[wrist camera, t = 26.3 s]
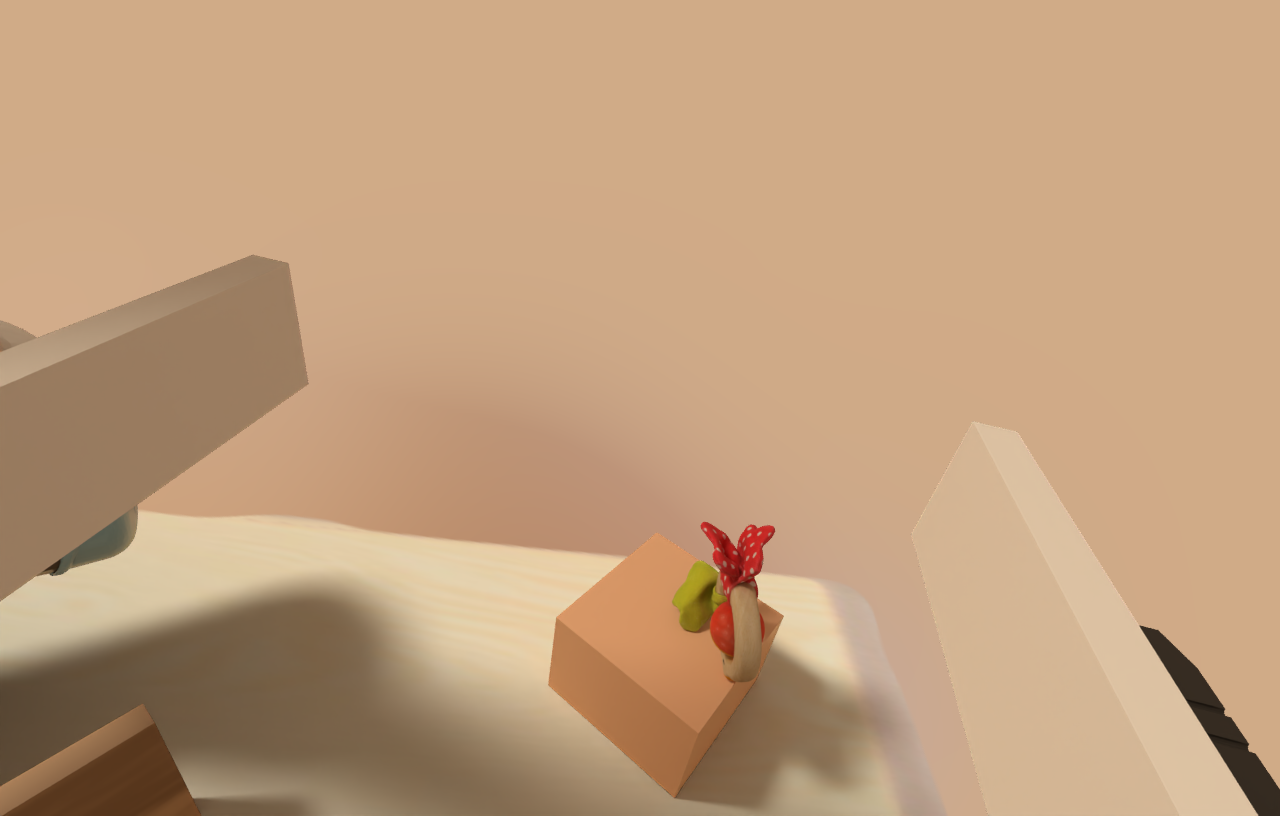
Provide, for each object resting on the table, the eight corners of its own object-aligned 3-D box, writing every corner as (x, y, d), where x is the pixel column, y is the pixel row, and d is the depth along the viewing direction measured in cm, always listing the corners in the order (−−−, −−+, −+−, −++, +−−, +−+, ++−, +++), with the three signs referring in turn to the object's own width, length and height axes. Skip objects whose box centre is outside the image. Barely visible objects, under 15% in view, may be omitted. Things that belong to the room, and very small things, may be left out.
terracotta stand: (548, 685, 46) (556, 617, 42) (642, 596, 55) (656, 532, 50) (674, 798, 41) (698, 733, 36) (756, 679, 49) (783, 615, 45)
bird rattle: (767, 689, 42) (742, 563, 47) (843, 657, 33) (802, 504, 38) (682, 697, 40) (665, 566, 45) (736, 665, 31) (708, 505, 36)
